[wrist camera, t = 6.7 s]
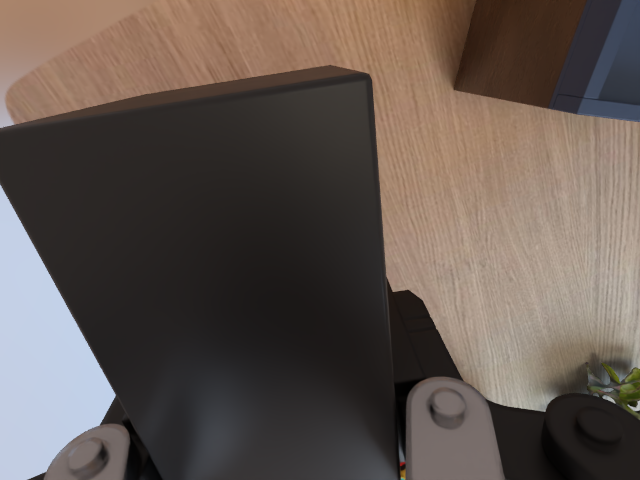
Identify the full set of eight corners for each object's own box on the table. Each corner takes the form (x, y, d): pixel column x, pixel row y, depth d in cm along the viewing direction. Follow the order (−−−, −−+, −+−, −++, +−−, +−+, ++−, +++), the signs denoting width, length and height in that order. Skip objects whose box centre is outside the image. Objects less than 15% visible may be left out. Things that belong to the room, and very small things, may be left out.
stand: (486, -41, 29) (629, -116, 17) (664, -11, 31) (918, -60, 18) (453, 90, 33) (547, 108, 21) (611, 110, 35) (788, 138, 22)
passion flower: (556, 372, 57) (550, 450, 50) (560, 331, 51) (555, 413, 44) (652, 394, 51) (661, 486, 44) (671, 349, 45) (686, 449, 38)
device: (142, 94, 8) (-32, 134, 4) (333, 64, 8) (373, 71, 4) (263, 457, 13) (247, 637, 9) (376, 441, 13) (411, 616, 9)
